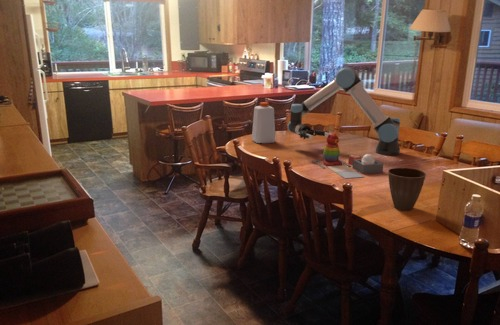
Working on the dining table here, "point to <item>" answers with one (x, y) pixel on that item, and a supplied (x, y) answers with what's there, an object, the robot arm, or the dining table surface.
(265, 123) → the plastic bottle
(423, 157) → the dining table surface
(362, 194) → the dining table surface
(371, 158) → the dome
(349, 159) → the die
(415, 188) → the plant pot
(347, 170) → the track
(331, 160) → the stacking bear
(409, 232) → the dining table surface
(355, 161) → the popper base
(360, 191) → the dining table surface
